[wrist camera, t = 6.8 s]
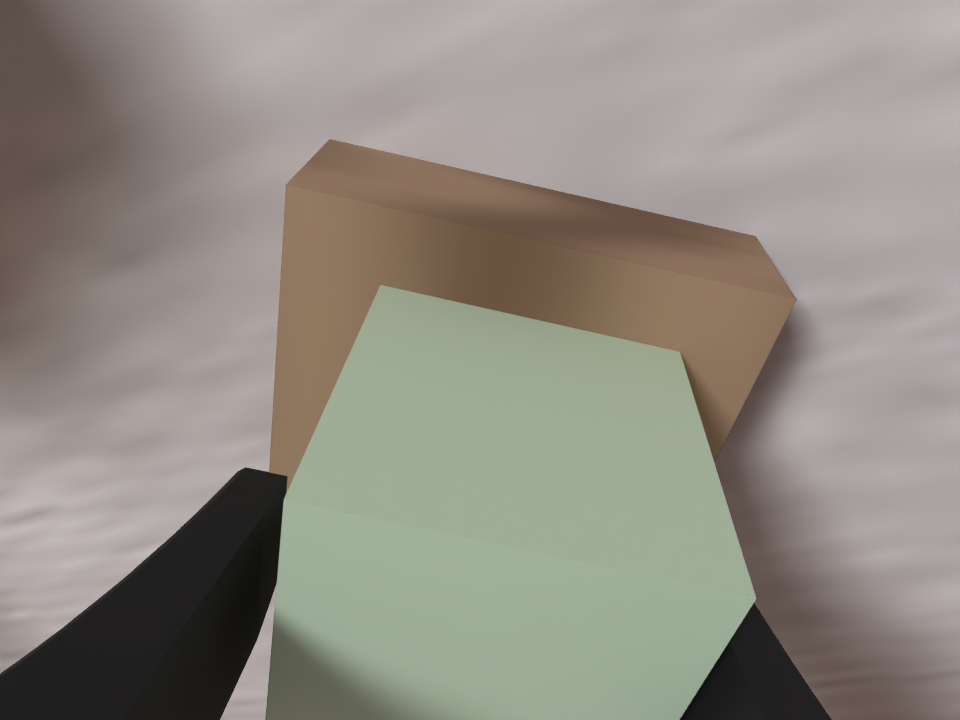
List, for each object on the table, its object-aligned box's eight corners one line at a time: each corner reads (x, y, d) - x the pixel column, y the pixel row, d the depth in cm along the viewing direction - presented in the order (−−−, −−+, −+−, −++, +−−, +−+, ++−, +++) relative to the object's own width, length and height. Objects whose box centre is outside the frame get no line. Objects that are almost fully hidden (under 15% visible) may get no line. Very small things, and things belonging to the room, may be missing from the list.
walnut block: (749, 227, 14) (796, 299, 11) (621, 521, 18) (633, 622, 15) (336, 132, 13) (286, 184, 11) (305, 456, 18) (264, 548, 15)
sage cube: (680, 351, 12) (756, 598, 7) (591, 557, 14) (611, 826, 10) (380, 284, 11) (283, 500, 7) (347, 506, 14) (261, 759, 10)
